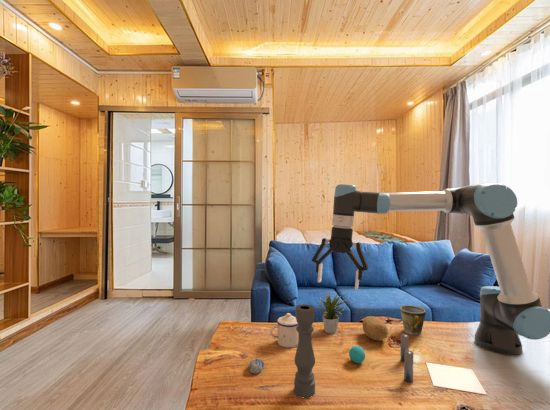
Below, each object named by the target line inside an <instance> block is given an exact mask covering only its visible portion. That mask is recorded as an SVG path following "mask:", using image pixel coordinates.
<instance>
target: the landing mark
mask: <svg viewBox="0 0 550 410" xmlns="http://www.w3.org/2000/svg"><path fill="white" fill-rule="evenodd" d="M425 365H426V367H427V370H428V374H429V376H430V379H431V383H432V385H433V387H437V388H438V387H439V388H443V389H447V390H448V389H449V390H455V391H461V392H467V393H472V394H478V395H484V396H488V395H487V392H486V390H485V389H484V387H483V385H482V384H481V382H480V381H479V379H478V377H477V376H476V374H475V372H474V371H473V369H471V368H466V367H458V366H453V365H452V366H451V365H444V364H439V363H431V362H425Z"/></svg>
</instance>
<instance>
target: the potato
mask: <svg viewBox="0 0 550 410" xmlns="http://www.w3.org/2000/svg"><path fill="white" fill-rule="evenodd" d="M362 330H363V332H364V334H365V335H366V337H368V338H370V339H371V340H374V341H375V342H376V341H377V342H378V341H380V342H381V341H382V340H384V339H387V336H388V335H389V329H388V326H387V324H386V323H385V322H384V321H383V320H382V319H380V318H378V317H376V316H373V315H372V316H370V315H368V316H366V317H365V318H364V319H363V320H362Z"/></svg>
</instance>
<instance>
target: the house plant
mask: <svg viewBox="0 0 550 410" xmlns="http://www.w3.org/2000/svg"><path fill="white" fill-rule="evenodd" d="M330 295H331V294H330V293H326V294H325V300H324V298H321V297H320V296H319V299H320V301H319V302H321V304H322V305H323V306H324V307H323V306H320V305H317V306H316V307H317V308H319V309H321V310H323V313H322V322H323V329H324V332H325V333H326V334H336V333H337V332H338V331H337V330H338V325H339V319H340V317H339V315H337V314H340V315H341V316H343V313H342V312H343V311H345V309H346V307H341V306H340V305H345V304H348V302H345V301H347V299H343V300H341V301H339V300H340V298H341V297H342V295H340V296H338V294H336V295H335V296H334V298H333V299H331V296H330ZM341 311H342V312H341Z"/></svg>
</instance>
